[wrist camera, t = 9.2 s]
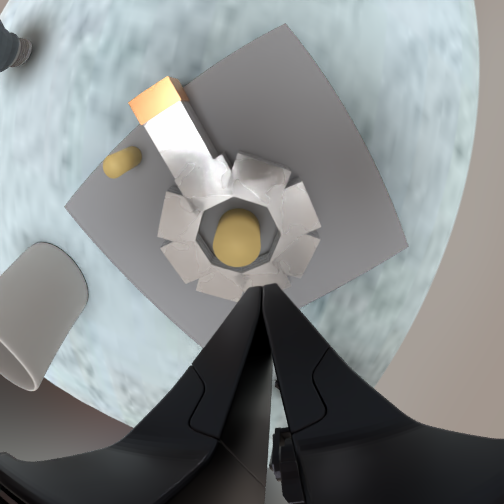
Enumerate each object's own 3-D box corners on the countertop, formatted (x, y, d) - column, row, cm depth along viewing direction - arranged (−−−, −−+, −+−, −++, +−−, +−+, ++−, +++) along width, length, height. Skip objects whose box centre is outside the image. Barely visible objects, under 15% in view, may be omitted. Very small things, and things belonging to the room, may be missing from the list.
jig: (403, 240, 20) (425, 265, 17) (207, 343, 26) (203, 374, 22) (283, 27, 13) (291, 9, 9) (70, 202, 18) (43, 222, 15)
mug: (22, 231, 20) (-49, 298, 10) (87, 256, 21) (19, 347, 11) (37, 316, 25) (-4, 381, 16) (94, 341, 27) (58, 419, 17)
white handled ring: (234, 50, 13) (231, 42, 11) (332, 258, 19) (340, 275, 18) (99, 134, 15) (82, 139, 13) (212, 306, 22) (209, 324, 20)
